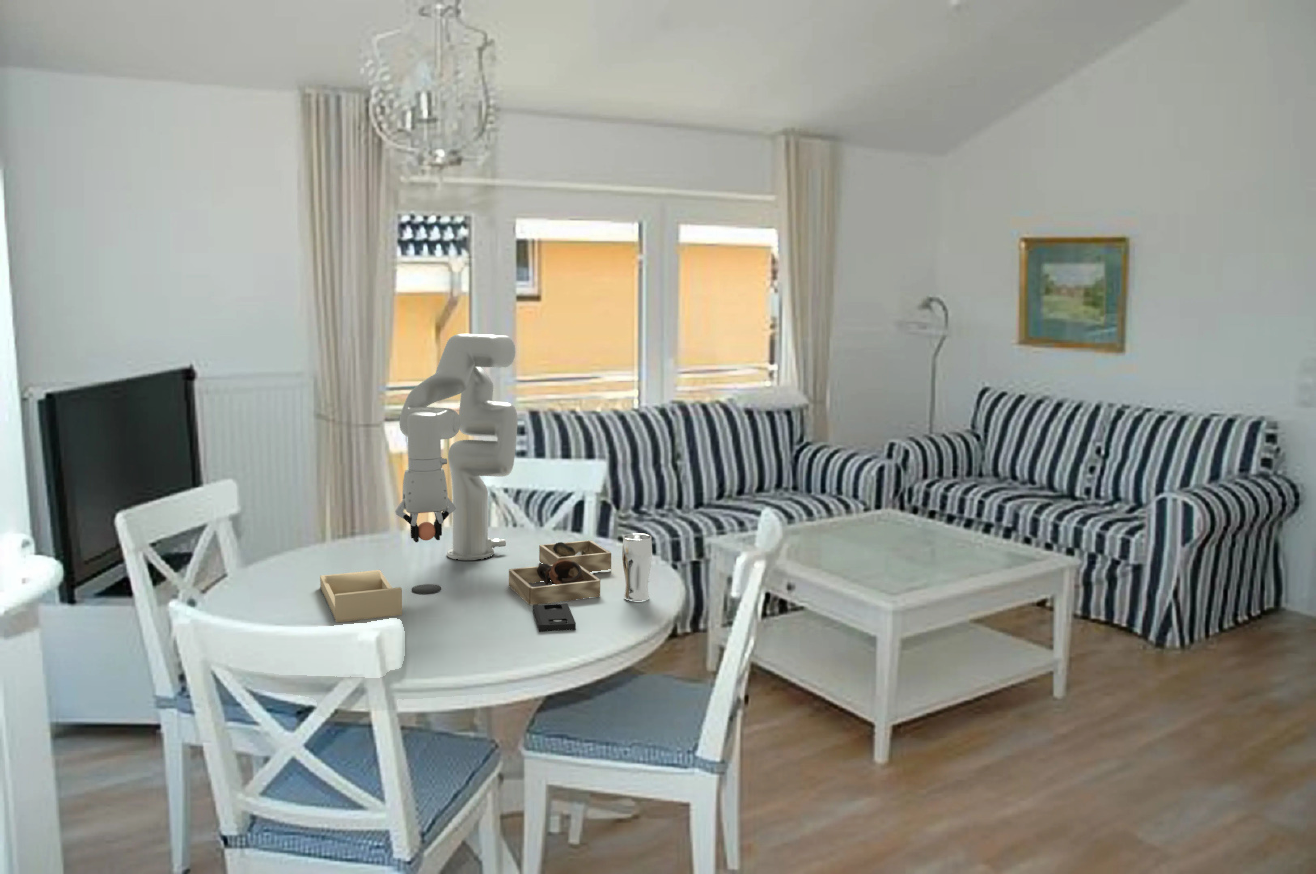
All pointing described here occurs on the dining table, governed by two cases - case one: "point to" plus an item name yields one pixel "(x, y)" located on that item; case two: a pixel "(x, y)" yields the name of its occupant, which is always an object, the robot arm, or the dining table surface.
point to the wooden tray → (591, 561)
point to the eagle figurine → (566, 550)
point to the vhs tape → (553, 617)
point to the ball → (426, 531)
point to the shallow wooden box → (552, 586)
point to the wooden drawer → (360, 596)
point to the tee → (426, 589)
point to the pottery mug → (559, 572)
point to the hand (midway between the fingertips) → (426, 539)
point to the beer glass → (636, 565)
